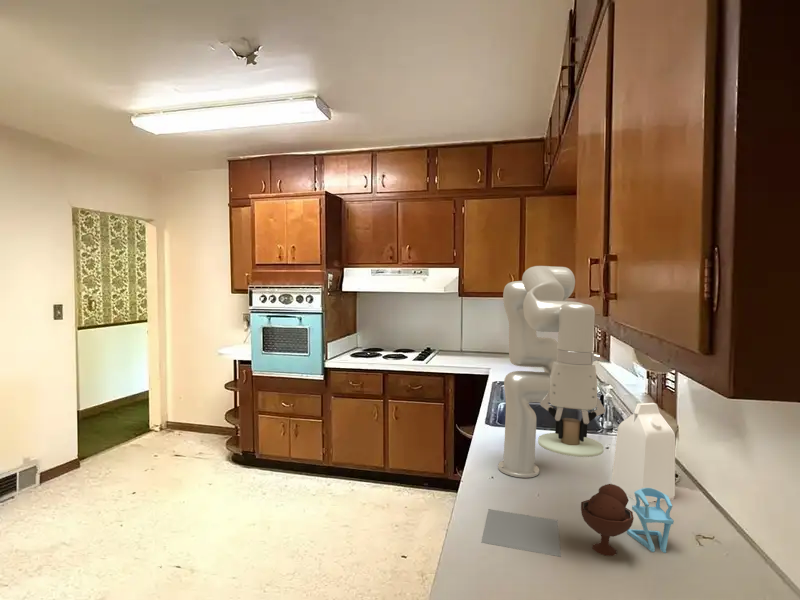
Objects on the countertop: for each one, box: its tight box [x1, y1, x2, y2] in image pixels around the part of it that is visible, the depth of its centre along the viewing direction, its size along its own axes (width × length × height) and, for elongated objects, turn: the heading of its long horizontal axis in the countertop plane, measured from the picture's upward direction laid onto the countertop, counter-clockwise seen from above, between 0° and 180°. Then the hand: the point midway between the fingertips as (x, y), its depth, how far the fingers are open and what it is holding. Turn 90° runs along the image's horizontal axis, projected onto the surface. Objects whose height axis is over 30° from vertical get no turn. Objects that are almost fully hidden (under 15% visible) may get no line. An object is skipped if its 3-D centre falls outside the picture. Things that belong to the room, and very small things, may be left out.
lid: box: [537, 417, 605, 458], centre depth 110 cm, size 14×14×6 cm
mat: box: [480, 508, 562, 558], centre depth 114 cm, size 17×17×1 cm
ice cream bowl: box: [580, 483, 635, 557], centre depth 107 cm, size 11×11×15 cm
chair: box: [626, 488, 675, 554], centre depth 112 cm, size 8×8×12 cm
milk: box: [610, 402, 676, 505], centre depth 139 cm, size 12×12×26 cm
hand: (570, 437), depth 110 cm, fingers closed on lid, 4 cm apart
